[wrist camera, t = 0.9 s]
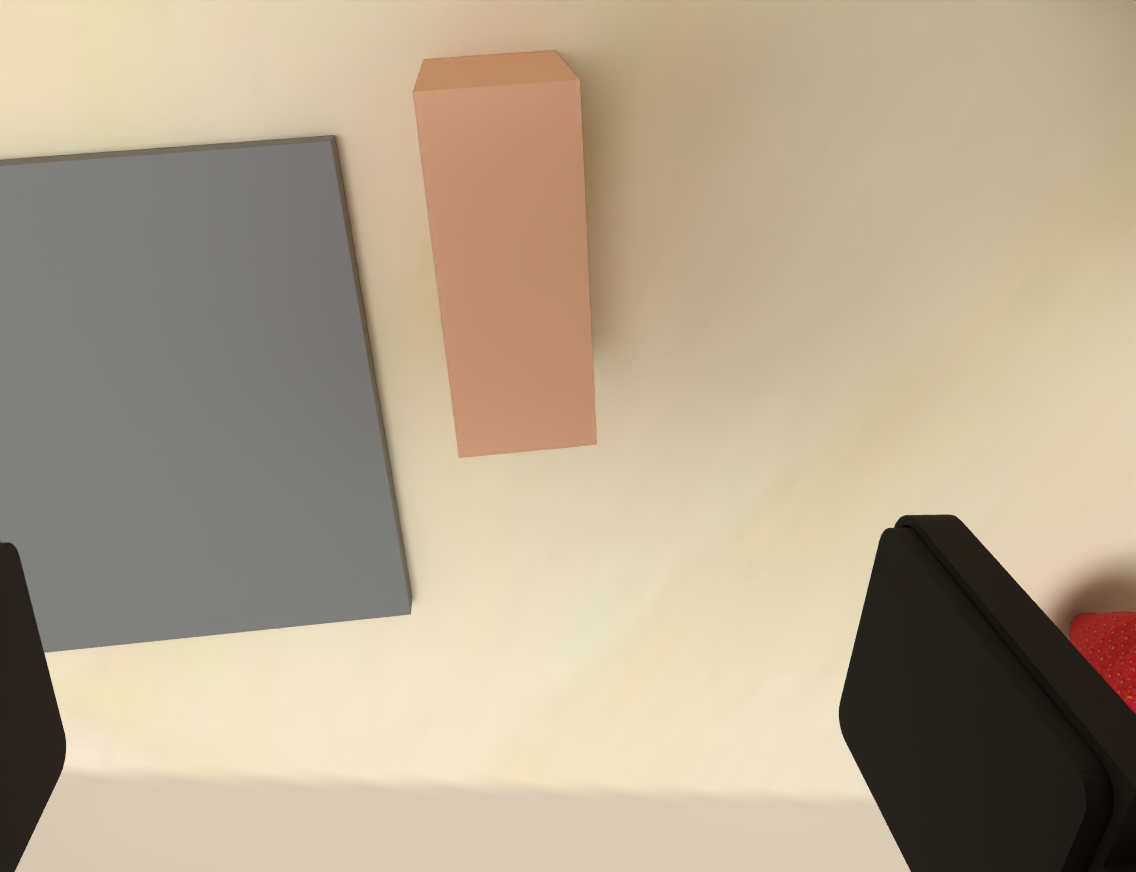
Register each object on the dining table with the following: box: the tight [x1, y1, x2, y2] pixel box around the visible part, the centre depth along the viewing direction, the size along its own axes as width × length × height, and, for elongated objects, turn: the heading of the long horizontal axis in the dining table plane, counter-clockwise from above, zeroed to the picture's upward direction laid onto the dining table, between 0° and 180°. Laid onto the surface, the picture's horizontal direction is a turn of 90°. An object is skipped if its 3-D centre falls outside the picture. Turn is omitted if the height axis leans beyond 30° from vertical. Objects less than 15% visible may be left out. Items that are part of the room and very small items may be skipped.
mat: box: [0, 135, 412, 653], centre depth 32 cm, size 22×18×1 cm
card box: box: [413, 50, 597, 458], centre depth 28 cm, size 4×10×7 cm, turn 3°
